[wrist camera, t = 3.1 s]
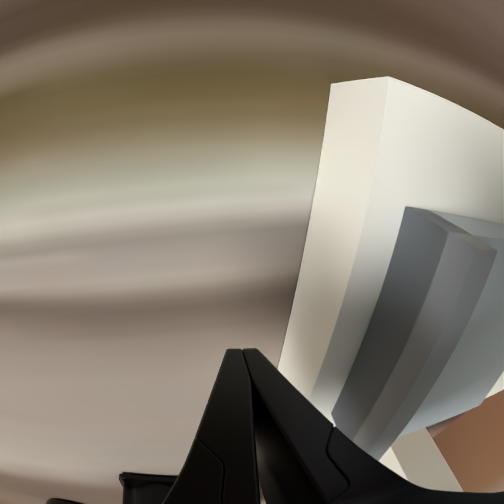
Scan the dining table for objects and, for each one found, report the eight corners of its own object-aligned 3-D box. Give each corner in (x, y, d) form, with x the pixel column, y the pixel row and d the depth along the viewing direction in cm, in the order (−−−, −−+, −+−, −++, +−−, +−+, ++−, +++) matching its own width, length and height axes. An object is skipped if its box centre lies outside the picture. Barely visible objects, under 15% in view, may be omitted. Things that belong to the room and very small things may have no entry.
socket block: (270, 397, 17) (286, 454, 13) (331, 83, 10) (388, 76, 7) (482, 358, 20) (507, 387, 17) (551, 176, 14) (591, 194, 10)
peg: (358, 448, 22) (399, 539, 13) (377, 421, 21) (428, 522, 12) (396, 438, 23) (439, 520, 14) (416, 410, 21) (469, 498, 12)
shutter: (330, 413, 12) (354, 469, 9) (404, 206, 8) (475, 248, 6) (461, 381, 14) (489, 417, 11) (531, 230, 10) (577, 259, 7)
